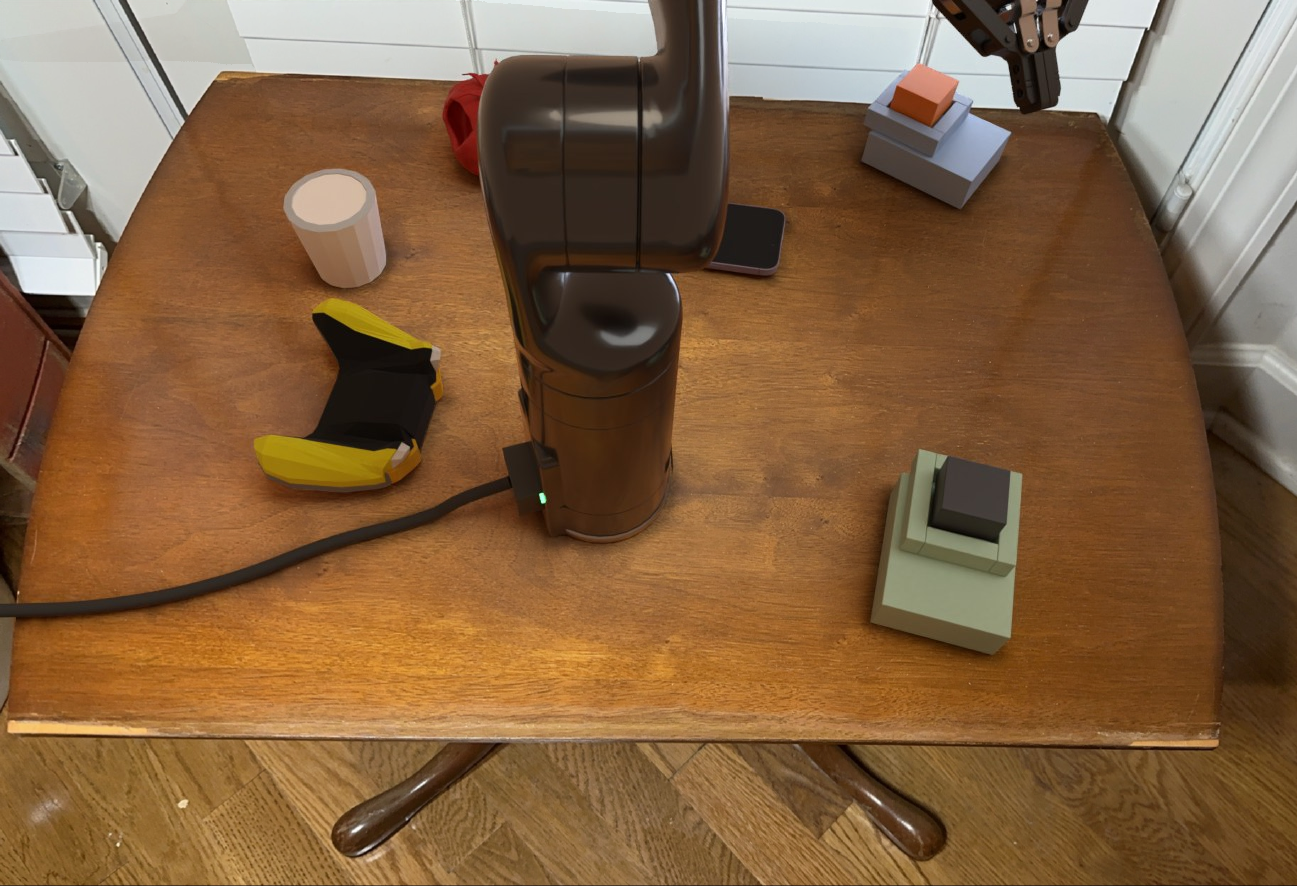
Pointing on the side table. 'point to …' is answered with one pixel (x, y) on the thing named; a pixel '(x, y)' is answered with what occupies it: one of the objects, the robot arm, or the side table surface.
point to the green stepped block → (944, 568)
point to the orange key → (924, 94)
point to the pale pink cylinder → (338, 225)
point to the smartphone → (750, 240)
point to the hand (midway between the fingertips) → (1039, 110)
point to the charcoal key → (971, 498)
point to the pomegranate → (464, 119)
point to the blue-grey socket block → (933, 147)
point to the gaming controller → (361, 408)
